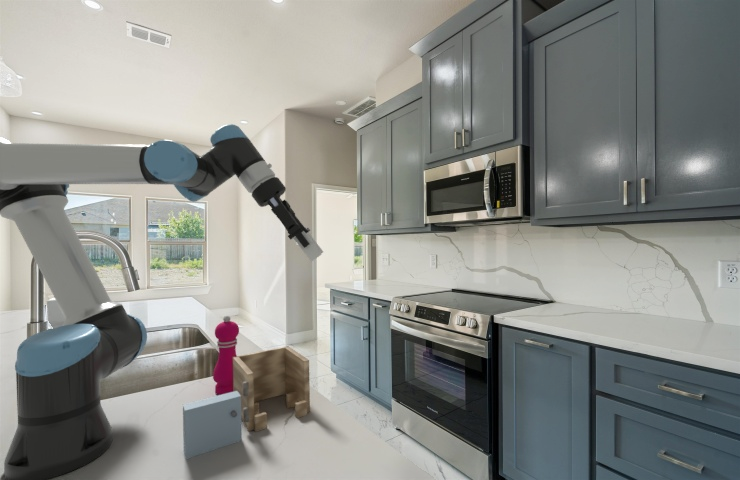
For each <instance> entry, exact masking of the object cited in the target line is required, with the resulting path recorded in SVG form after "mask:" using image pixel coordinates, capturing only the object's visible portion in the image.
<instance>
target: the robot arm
mask: <svg viewBox="0 0 740 480" xmlns="http://www.w3.org/2000/svg"><path fill="white" fill-rule="evenodd" d="M209 139H210V143H211V146H212V147H211V148H210V149H209V150H208V151H206V152H205V153H204V154H203V155H199V154H197V153H196V152H194V151H192V149H190V148H188V147H187V146H186V145H185V144H182V143H180V142H177V141H174V140H170V139H160V140H157V141H155V142H153V143H151V144H87V143H85V144H81V143H80V144H79V143H77V144H76V143H30V142H29V143H23V142H22V143H17V142H15V143H14V142H13V143H12V142H10V140H7V139H5V138H3V137H0V217H2V218H5V219H7V220H9V221H10V220H11V221H13V222H14V223H15V225H16V227H17V229H18V231H19V232H20V234H21V237H22V238H23V240H24V242H25V244H26V246H27V248H28V250H29V251H30V254H31V256H32V258H33V259H34V261H35V263H36V265H37V267H38V269H39V270H40V273H41V274H42V276H43V278H44V281H45V282H46V284H47V285H48V288H49V290H50V291H51V293H52V295H53V298H55V299H56V301H57V303H58V305H59V307H60V309H61V311H62V312H63V314H64V316H65V318H66V320H65V323H64V324H63V326H60V327H58V328H55V329H48V328H47V329H46V330H43V331H39V332H37V333H35V334H33V335H30V336H28V337H27V338H26V339H24V340H23V341H22V342H21V343H20V344H19V346H18V347H17V350H16V360H15V364H14V367H15V368H14V369H15V370H14V371H15V377H16V378H15V380H16V406H17V408H16V410H17V426H16V430H15V432H14V435H13V437H12V440H11V443H10V446H9V448H8V450H7V453H6V456H5V458H4V461H3V462H4V463H3V467H4V468H3V469H4V470H3V472H4V478H5V479H6V480H47V479H51V478H55V477H59V476H62V475H64V474H67V473H69V472H72V471H74V470H78V469H79V468H81V467H83V466H85V465H88V464H89V463H91V462H92V461H94V460H96V459H98V458H99V457H100V456H101V455H103V454H104V453H105V452H106V451H107V450H108V449H109V448H110V446H111V445H112V443H113V429H112V426H111V424H110V422H109V421H110V420H109V419H108V417H107V415H106V412H105V411H104V409H103V406H102V403H101V381H103V380H104V379H105V378H107V377H108V376H111V375H112V374H114V373H115V372H117V371H119V370H121V369H123V368H125V367H127V366H128V365H130V364H131V363H133V361H134V360H136V359H137V358H138V357H140V356H141V354H142V352H143V351H144V350H145V346H146V345H147V341H148V333H147V329H146V326H145V324H144V322H142V320H141V319H140V318H139V317H137V316H133V315H131V314H128V313H127V311H126V309H125V307H124V305H123V304H122V303H120V302H117V301H116V302H115V301H113V300H112V299H111V298H110V295H109V294H108V292H107V289H106V288H105V286H104V284H103V283H102V281H101V279H100V276H99V275H98V273H97V271H96V269H95V267H94V264H93V263H92V261H91V259H90V257H89V255H88V253H87V251H86V249H85V247H84V246H83V244H82V241H81V239H80V238H79V236H78V233H77V232H76V230H75V228H74V226H73V223H71V219H70V218H69V216H68V215H67V212H66V211H65V208H66V207H67V204H68V203H69V199H68V197H67V195H68V188H70V185H173V186H174V188H175V189H176V190H177V191H178V193H180V195H182V196H183V197H184V198H185V199H187V200H188V201H190V202H198V201H200V200H201V199H203V198H205V197H207V196H208V195H210V193H211V192H214V190H216V189H217V188H219V187H221V186H222V185H223V184H224V183H226V182H227V181H229V180H230V179H231V178H233V177H234V176H236V177H237V179H238V181H239V182H240V183H241V184H242V186H243V187H244V189H245V190H246V191H247V192H248V194H249V193H250V194H251V197H252V199H253V200H254V201H255V202H256V204H257V205H258V206H259V207H261V208H263V207H266V206H270V208H271V209H270V211H271V212H272V213H273V214H274V215H275V216H276V218H277V219H278V220H279V221H280V223H282V225H283V226H284V228H285V230H286V231H287V233H288V235H287V237H288V238H289V239H290V240H293V239H294V241H295V242H296V244H297V246H299V247H300V249H301V250H302V251H303V253H304V254H305V255H306V257H307V258H308V259H309V260H310V262H311V263H312V262H314V260H316V259H317V258H319V257H320V256H321V255H322V254H323V253H324V251H323V249H322V248H321V247H320V245H319V243H318V242H317V241H316V240H315V239H314V237H313V236H312V235H311V233H310V231H311V229H310V228H309V227H305V226H304V224H303V223H302V221H300V219H299V218H298V217H297V216H296V213H295V211H294V210H293V209H292V207H291V205H290V203H289V202H288V201H287V200H286V199H283V200H282V198H281V197H282V196H283V195H284V194H285V193H286V189H287V188H286V186H285V185H284V183H283V182H282V181H281V180H280V178H279V177H276V173H275V172H274V170H272V168H273V167H272V166H273V165H272V164H271V163H267V162H266V160H265V159H264V157H263V156H262V154H261V153H260V151H259V150H258V149H257V147H255V145H254V144H253V142H252V141H251V140H250V138H249V137H248V136H247V135H246V134H245V132H244V131H243V130H242V129H241V128H240V127H239V126H238V125H236V124H232V123H231V124H225V125H222V126H221V127H219V128H216V130H215V132H214V133H212V134H211V136H210V138H209Z"/></svg>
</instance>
